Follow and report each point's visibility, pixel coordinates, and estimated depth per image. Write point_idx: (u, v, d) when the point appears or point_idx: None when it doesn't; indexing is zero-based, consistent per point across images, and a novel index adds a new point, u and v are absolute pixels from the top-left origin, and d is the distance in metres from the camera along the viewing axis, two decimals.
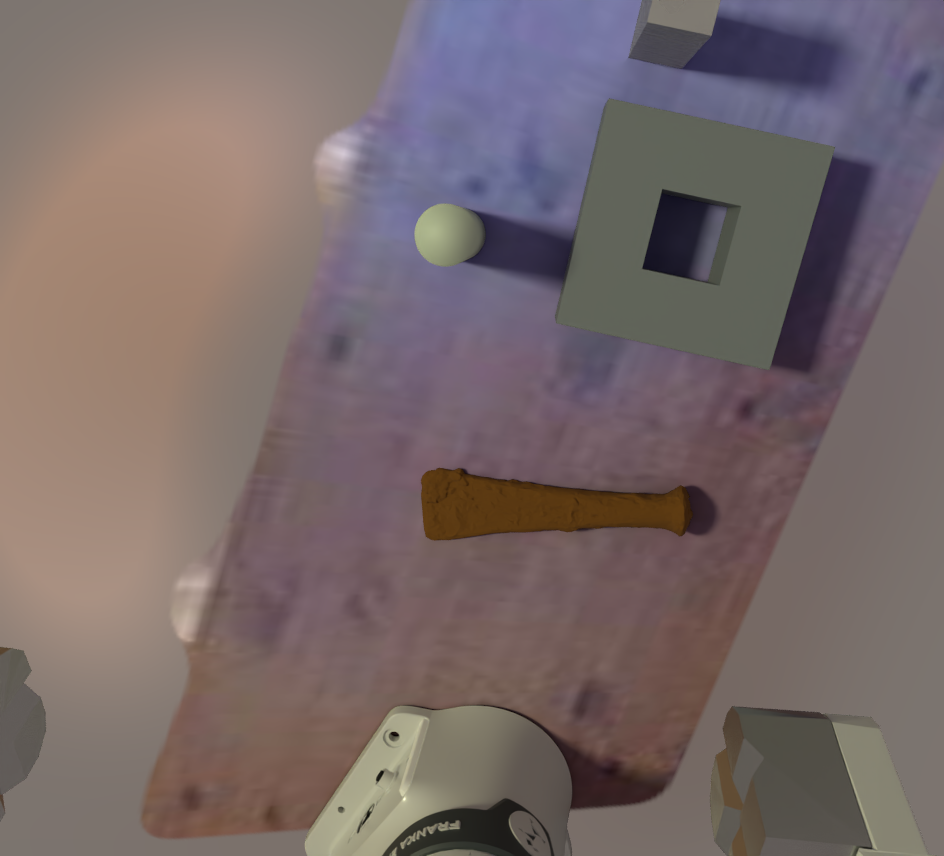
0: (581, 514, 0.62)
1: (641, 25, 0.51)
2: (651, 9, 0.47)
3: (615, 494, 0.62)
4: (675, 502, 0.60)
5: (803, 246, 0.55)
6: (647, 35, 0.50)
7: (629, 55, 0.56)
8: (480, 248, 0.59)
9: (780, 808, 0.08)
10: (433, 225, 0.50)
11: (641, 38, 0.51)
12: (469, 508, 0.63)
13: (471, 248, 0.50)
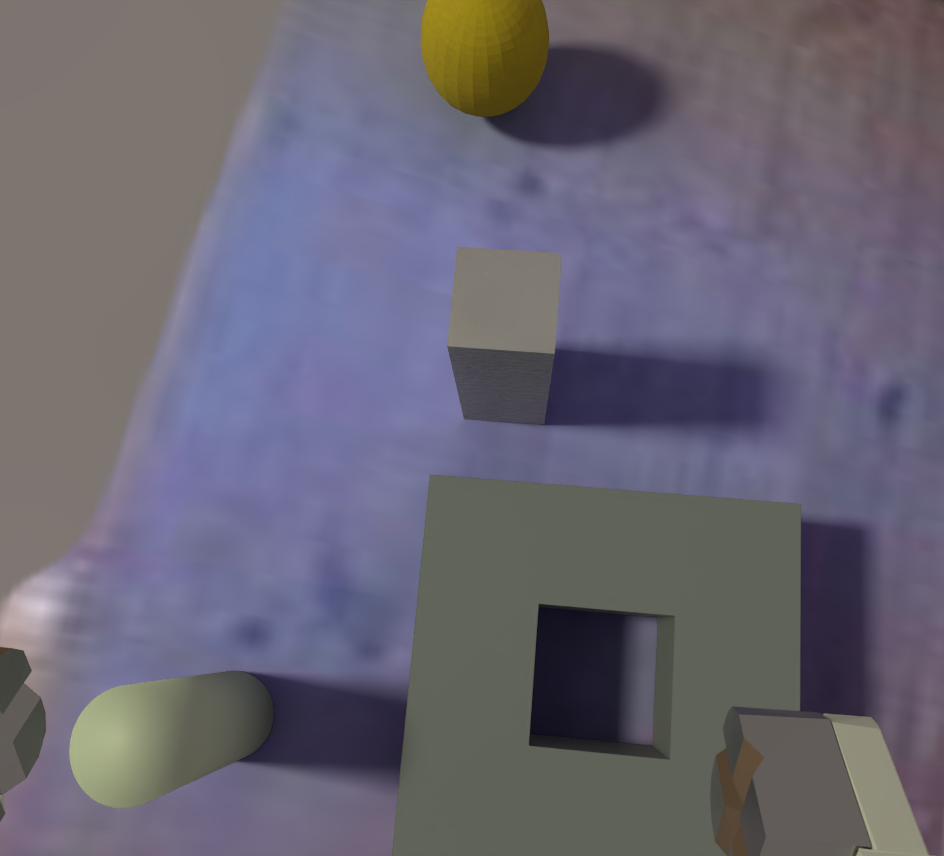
0: None
1: None
2: (451, 327, 0.29)
3: None
4: None
5: (796, 671, 0.32)
6: (464, 373, 0.32)
7: (463, 414, 0.38)
8: (259, 737, 0.34)
9: (780, 808, 0.08)
10: (104, 728, 0.26)
11: (459, 380, 0.33)
12: None
13: (177, 765, 0.26)
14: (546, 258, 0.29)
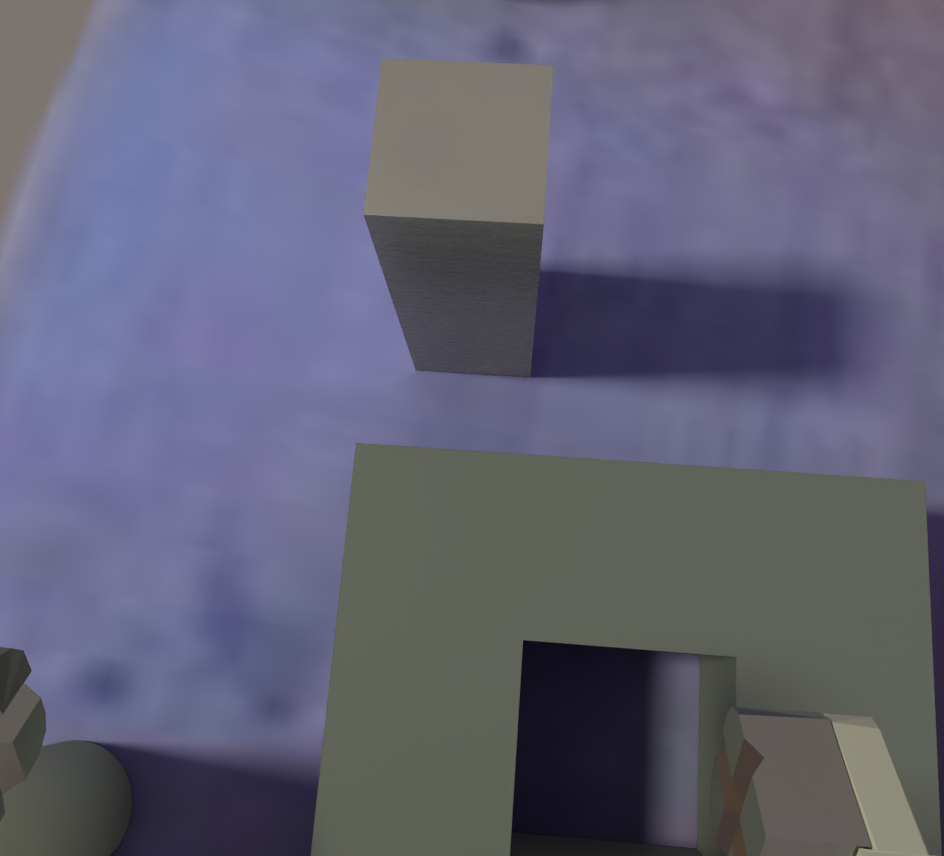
0: None
1: None
2: (370, 184, 0.17)
3: None
4: None
5: (930, 743, 0.20)
6: (401, 277, 0.20)
7: (413, 362, 0.26)
8: (101, 846, 0.23)
9: (780, 808, 0.08)
10: None
11: (397, 294, 0.21)
12: None
13: None
14: (528, 73, 0.18)
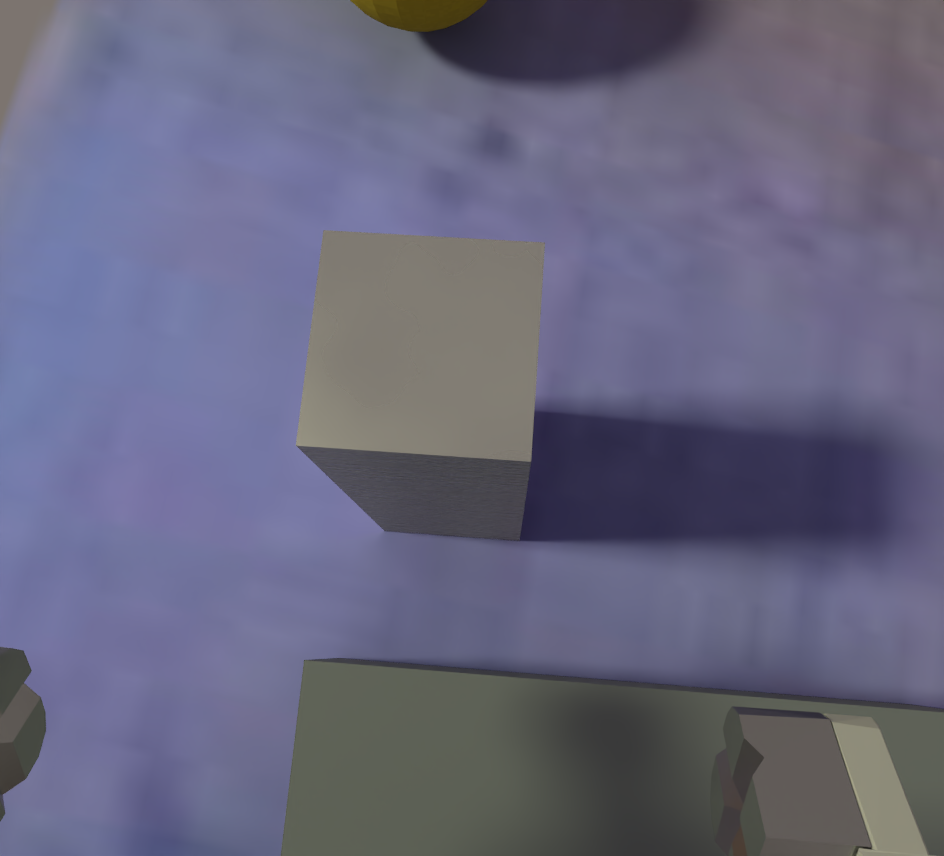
0: None
1: None
2: (304, 404, 0.13)
3: None
4: None
5: None
6: (355, 483, 0.16)
7: (381, 527, 0.22)
8: None
9: (780, 808, 0.08)
10: None
11: (352, 491, 0.17)
12: None
13: None
14: (512, 252, 0.14)
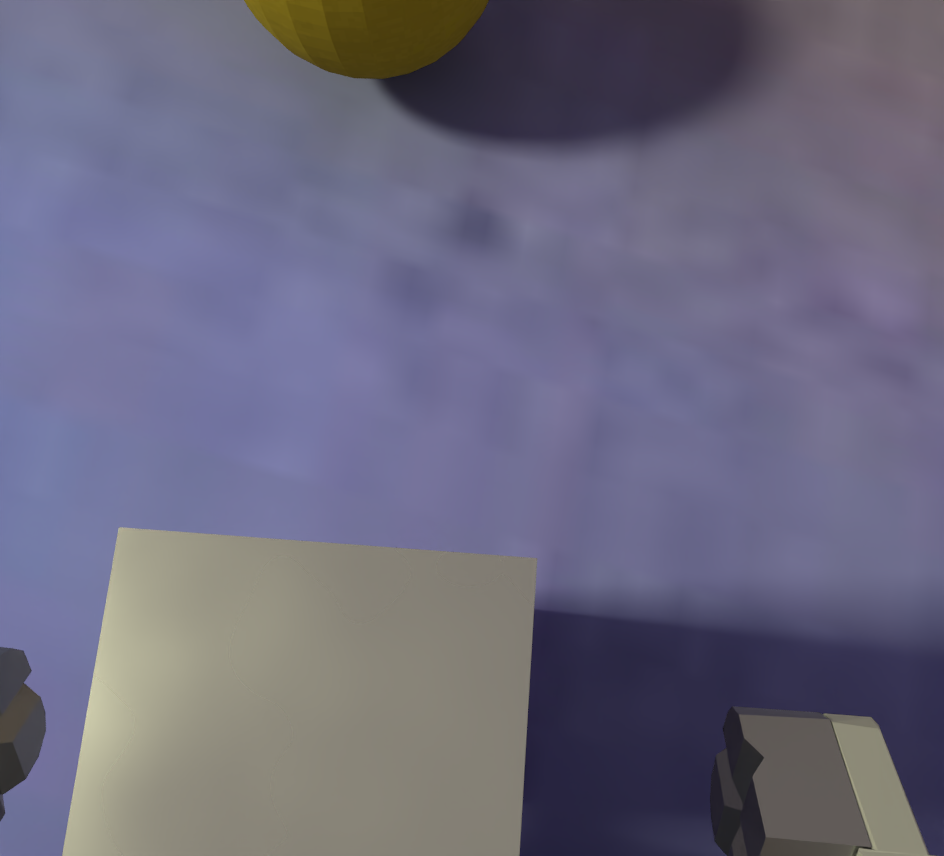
0: None
1: None
2: None
3: None
4: None
5: None
6: None
7: None
8: None
9: (780, 808, 0.08)
10: None
11: None
12: None
13: None
14: (473, 579, 0.07)
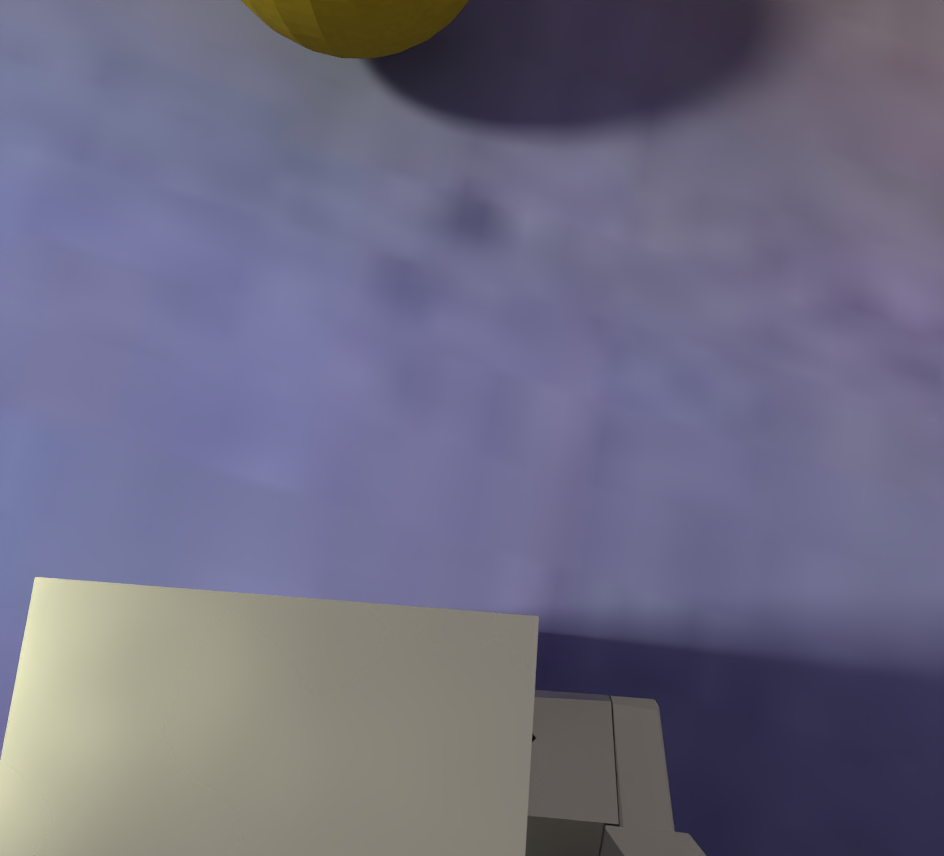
0: None
1: None
2: None
3: None
4: None
5: None
6: None
7: None
8: None
9: (539, 787, 0.08)
10: None
11: None
12: None
13: None
14: (463, 642, 0.06)
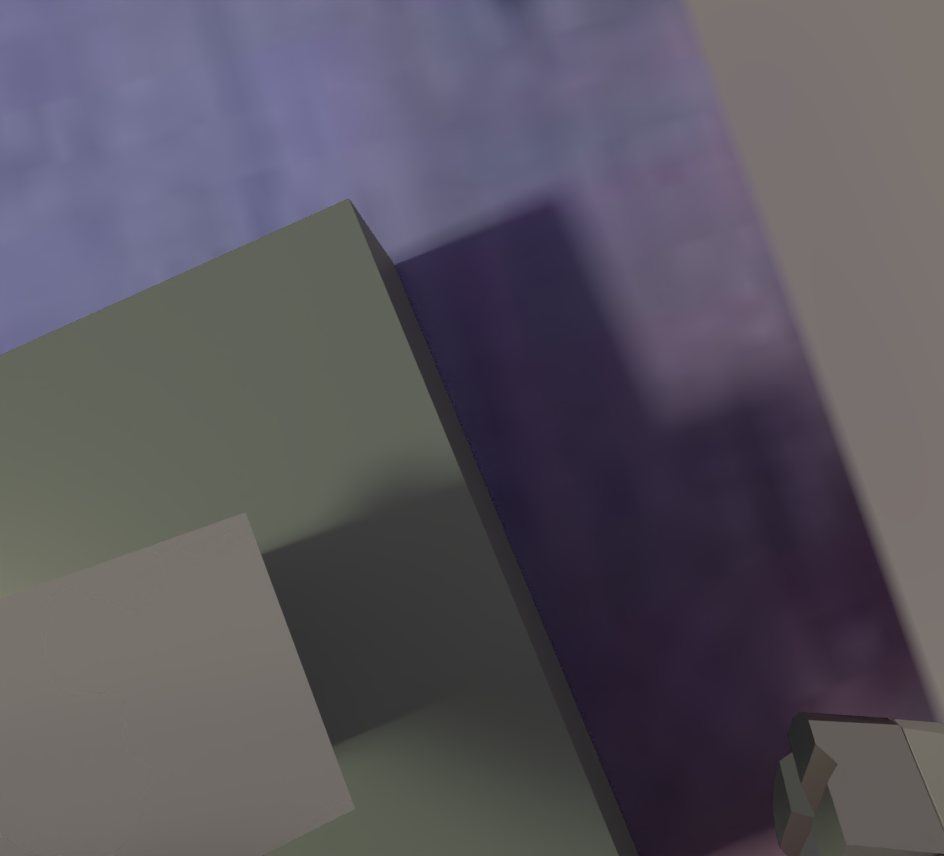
0: None
1: None
2: None
3: None
4: None
5: (469, 513, 0.15)
6: None
7: None
8: None
9: (858, 815, 0.08)
10: None
11: None
12: None
13: None
14: (208, 544, 0.10)
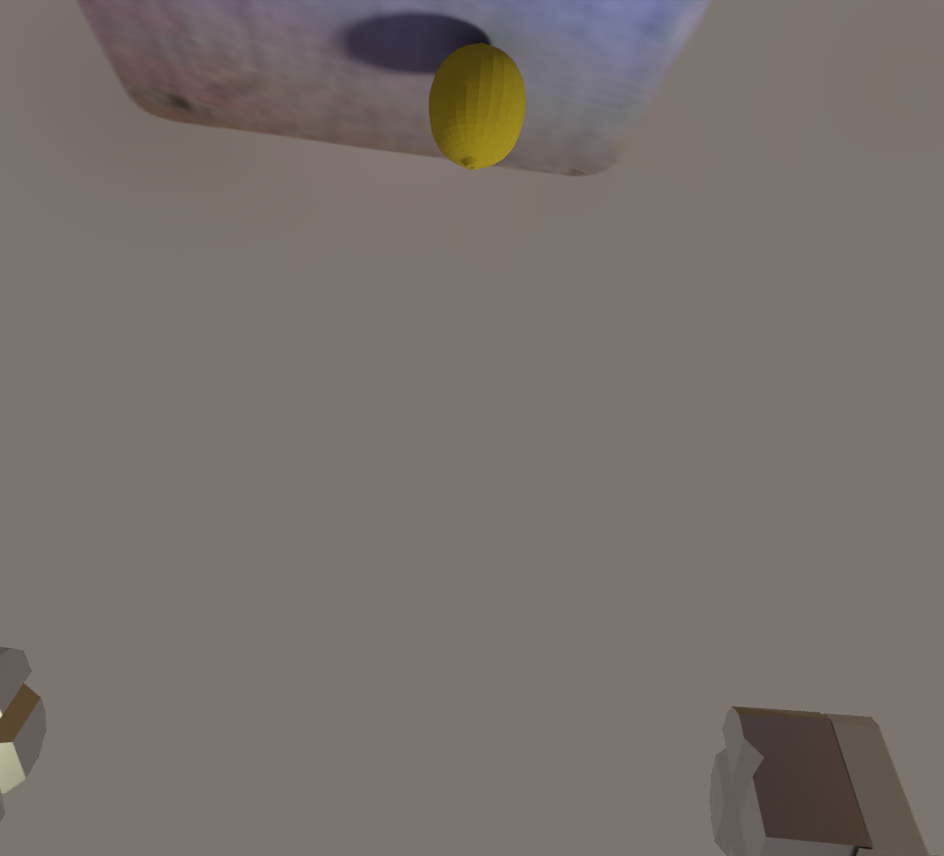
0: None
1: None
2: None
3: None
4: None
5: None
6: None
7: None
8: None
9: (780, 808, 0.08)
10: None
11: None
12: None
13: None
14: None
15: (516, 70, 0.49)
